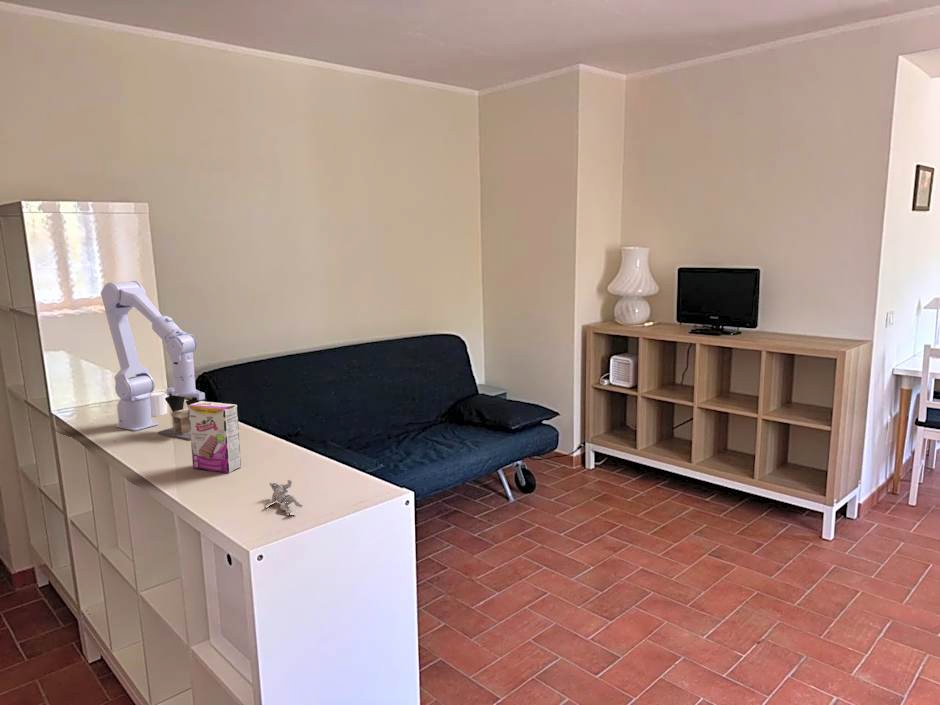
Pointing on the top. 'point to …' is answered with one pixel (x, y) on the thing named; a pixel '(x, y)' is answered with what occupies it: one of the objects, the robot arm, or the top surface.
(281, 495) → the grey creature figurine
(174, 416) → the two-pronged tan block
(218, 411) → the candy bar box
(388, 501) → the top surface
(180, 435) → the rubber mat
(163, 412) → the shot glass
